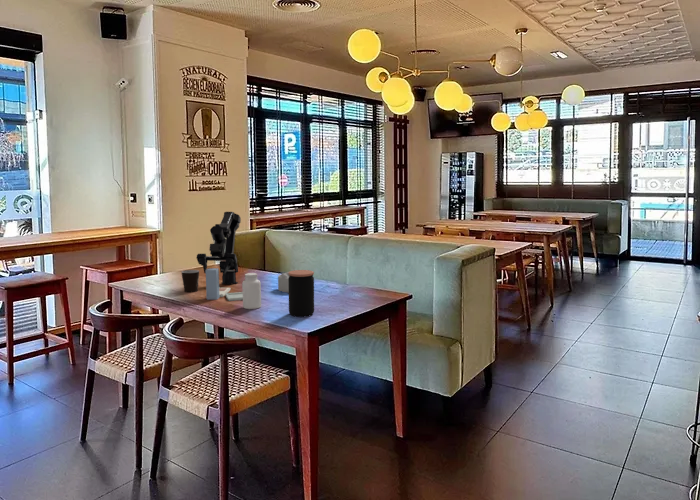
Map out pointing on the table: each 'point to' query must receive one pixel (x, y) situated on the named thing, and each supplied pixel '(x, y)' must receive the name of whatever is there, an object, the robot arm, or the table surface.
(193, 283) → the coffee mug
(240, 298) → the tray
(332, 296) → the table surface
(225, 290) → the board
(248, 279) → the pill bottle
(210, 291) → the blue tall block
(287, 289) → the lumpy-topped squat cylinder
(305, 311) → the coffee jar
